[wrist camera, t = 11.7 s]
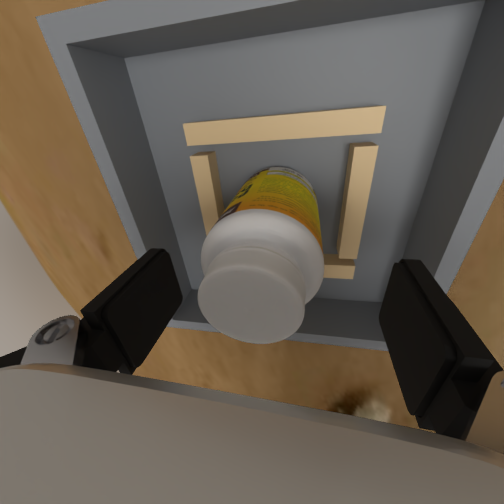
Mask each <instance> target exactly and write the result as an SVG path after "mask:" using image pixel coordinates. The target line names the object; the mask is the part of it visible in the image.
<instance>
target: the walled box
mask: <svg viewBox="0 0 504 504" xmlns="http://www.w3.org/2000/svg"><path fill="white" fill-rule="evenodd" d="M36 19H37V22H38V24H39V26H40V29H41V31H42V34H43V36H44V38H45V41H46V43H47V45H48V48H49V50H50V53H51V55H52V57H53V60H54V62H55V64H56V67H57V69H58V72H59V74H60V76H61V79H62V81H63V83H64V86H65V88H66V91H67V93H68V95H69V98H70V100H71V102H72V105H73V107H74V110H75V112H76V114H77V117H78V119H79V121H80V124H81V126H82V129H83V131H84V133H85V136H86V138H87V141H88V143H89V145H90V148H91V150H92V152H93V155H94V157H95V160H96V162H97V164H98V167H99V169H100V171H101V174H102V176H103V179H104V181H105V183H106V186H107V188H108V190H109V193H110V195H111V198H112V200H113V202H114V205H115V207H116V209H117V212H118V214H119V217H120V219H121V221H122V224H123V226H124V228H125V231H126V233H127V236H128V238H129V240H130V243H131V245H132V247H133V250H134V252H135V255H136V257H137V259H139V258H140V257H141V256H143V255H144V254H145V253H146V252H147V251H148V250H149V249H151V248H162V249H165V250H166V251H167V252H168V253H169V254H170V257H171V260H172V263H173V266H174V270H175V273H176V276H177V279H178V283H179V286H180V289H181V292H182V295H183V300H182V303H181V305H180V306H179V308H178V309H177V311H176V313H175V314H174V316H173V317H172V319H171V320H170V322H169V323H168V325H167V326H166V327H174V328H183V329H192V330H201V331H210V332H219V333H221V332H220V331H218V330H217V329H216V328H214V327H213V326H212V325H211V324H210V323H209V322H208V321H207V319H206V318H205V317H204V316H203V314H202V312H201V310H200V308H199V305H198V290H199V286H200V284H201V282H202V280H203V278H204V274H203V270H202V266H201V251H202V246H203V243H204V241H205V239H206V237H207V235H208V233H209V232H210V230H211V229H212V227H213V226H214V225H215V223H216V222H217V221H218V219H219V218H220V216H221V215H222V214H223V212H224V211H225V210H226V208H227V207H228V205H229V204H230V203H231V201H232V200H233V199H234V197H235V196H236V194H237V193H238V192H239V190H240V189H241V188H242V186H243V185H244V184H245V182H246V181H247V180H248V179H249V178H250V177H251V176H252V175H254V174H255V173H257V172H259V171H261V170H263V169H266V168H270V167H285V168H289V169H292V170H294V171H296V172H298V173H300V174H301V175H303V176H304V177H305V178H306V179H307V180H308V181H309V182H310V184H311V185H312V187H313V189H314V191H315V193H316V197H317V203H318V213H319V221H320V230H321V238H322V248H323V256H324V276H323V281H322V283H321V286H320V288H319V290H318V292H317V293H316V295H315V296H314V297H313V298H312V299H311V300H310V301H309V302H308V303H306V304H305V312H304V318H303V321H302V324H301V325H300V327H299V328H298V330H297V331H296V332H295V333H294V334H292V335H291V336H289V337H288V338H286V339H284V340H292V341H301V342H310V343H319V344H328V345H337V346H346V347H355V348H364V349H373V350H382V351H388V348H387V345H386V342H385V339H384V336H383V333H382V329H381V326H380V323H379V313H380V309H381V306H382V302H383V299H384V295H385V292H386V288H387V285H388V282H389V278H390V275H391V271H392V268H393V265H394V263H396V262H398V263H399V261H400V260H401V259H418V260H421V261H422V262H423V264H424V265H425V266H426V268H427V269H428V270H429V272H430V273H431V275H432V276H433V277H434V279H435V280H436V281H437V283H438V284H439V285H440V287H441V288H442V289H443V291H444V292H445V294H447V292H448V290H449V288H450V286H451V284H452V282H453V280H454V278H455V276H456V274H457V272H458V270H459V268H460V266H461V264H462V262H463V260H464V258H465V256H466V254H467V252H468V250H469V248H470V246H471V244H472V242H473V240H474V238H475V236H476V234H477V232H478V230H479V228H480V226H481V224H482V222H483V220H484V218H485V216H486V214H487V211H488V209H489V207H490V205H491V203H492V201H493V199H494V197H495V195H496V193H497V191H498V189H499V187H500V185H501V183H502V181H503V179H504V0H108V1H104V2H99V3H95V4H90V5H86V6H82V7H77V8H73V9H68V10H64V11H59V12H55V13H50V14H46V15H41V16H37V17H36Z"/></svg>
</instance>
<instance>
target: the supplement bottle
mask: <svg viewBox="0 0 504 504" xmlns="http://www.w3.org/2000/svg"><path fill="white" fill-rule="evenodd" d="M201 266H202V270H203V274H204V278H203V280H202V282H201V284H200V286H199V290H198V305H199V308H200V310H201V312H202V314H203V316H204V317H205V318H206V319H207V321H208V322H209V323H210V324H211V325H212V326H213V327H214V328H216V329H217V330H218V331H220V332H221V333H223V334H225V335H227V336H229V337H231V338H233V339H236V340H240V341H243V342H248V343H254V344H268V343H274V342H278V341H281V340H284V339H286V338H288V337H289V336H291V335H292V334H294V333H295V332H296V331H297V330H298V328H299V327H300V325H301V324H302V321H303V318H304V312H305V304H306V303H308V302H309V301H310V300H311V299H312V298H313V297H314V296H315V295H316V293H317V292H318V290H319V288H320V286H321V283H322V281H323V276H324V256H323V248H322V238H321V230H320V221H319V213H318V203H317V197H316V193H315V191H314V189H313V187H312V185H311V184H310V182H309V181H308V180H307V179H306V178H305V177H304V176H303V175H301V174H300V173H298V172H296V171H294V170H292V169H289V168H285V167H270V168H266V169H263V170H261V171H259V172H257V173H255V174H254V175H252V176H251V177H250V178H249V179H248V180H247V181H246V182H245V184H244V185H243V186H242V188H241V189H240V190H239V192H238V193H237V194H236V196H235V197H234V199H233V200H232V201H231V203H230V204H229V205H228V207H227V208H226V210H225V211H224V212H223V214H222V215H221V216H220V218H219V219H218V221H217V222H216V223H215V225H214V226H213V227H212V229H211V230H210V232H209V233H208V235H207V237H206V239H205V241H204V243H203V246H202V251H201Z"/></svg>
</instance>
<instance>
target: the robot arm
mask: <svg viewBox="0 0 504 504" xmlns="http://www.w3.org/2000/svg"><path fill="white" fill-rule="evenodd" d="M182 300H183V295H182V292H181V289H180V286H179V283H178V279H177V276H176V273H175V270H174V266H173V263H172V260H171V257H170V254H169V253H168V252H167V251H166V250H165V249H162V248H151V249H149V250H148V251H147V252H146V253H145V254H144V255H143V256H141V257H140V258H139V259H138V260H137V261H136V262H135V263H134V264H132V265H131V266H130V267H129V268H128V269H127V270H126V271H124V272H123V273H122V274H121V275H120V276H119V277H118V278H117V279H115V280H114V281H113V282H112V283H111V284H110V285H109V286H107V287H106V288H105V289H104V290H103V291H102V292H101V293H100V294H98V295H97V296H96V297H95V298H94V299H93V300H92V301H90V302H89V303H88V304H87V305H86V306H85V307H84V308H83V309H81V310H80V311H81V313H82V314H83V316H84V318H83V319H81V320H80V319H79V318H78V317H77V316H74V315H68V316H63V317H59V318H57V319H55V320H52V321H50V322H48V323H47V324H45V325H43V326H42V327H41V328H39V329H38V330H37V331H36V332H35V333H34V334H33V335H32V337H31V339H30V341H29V343H28V346H27V347H24V348H22V349H19V350H17V351H15V352H12V353H10V354H7V355H5V356H2V357H0V504H504V370H503V369H502V367H501V366H500V365H499V363H498V362H497V361H496V359H495V358H494V357H493V355H492V354H491V353H490V351H489V350H488V349H487V347H486V346H485V345H484V343H483V342H482V341H481V339H480V338H479V336H478V335H477V334H476V332H475V331H474V330H473V328H472V327H471V326H470V324H469V323H468V322H467V320H466V319H465V318H464V316H463V315H462V314H461V312H460V311H459V310H458V308H457V307H456V305H455V304H454V303H453V302H452V301H451V300H450V299H449V298H448V296H447V295H446V294H445V292H444V291H443V289H442V288H441V287H440V285H439V284H438V283H437V281H436V280H435V279H434V277H433V276H432V275H431V273H430V272H429V270H428V269H427V268H426V266H425V265H424V264H423V262H422V261H421V260H418V259H401V260H400V261H399V263H398V262H396V263H394V265H393V268H392V271H391V275H390V278H389V282H388V285H387V288H386V292H385V295H384V299H383V302H382V306H381V309H380V313H379V323H380V326H381V329H382V333H383V336H384V339H385V342H386V345H387V348H388V351H389V354H390V357H391V360H392V363H393V366H394V369H395V372H396V375H397V378H398V382H399V385H400V388H401V391H402V394H403V397H404V400H405V403H406V406H407V409H408V411H409V413H410V414H411V415H415V417H416V420H417V423H418V426H419V428H423V429H428V430H433V431H435V432H436V433H432V432H428V431H424V430H420V429H415V428H410V427H405V426H400V425H395V424H390V423H386V422H381V421H376V420H371V419H366V418H361V417H356V416H351V415H346V414H341V413H335V412H330V411H325V410H319V409H314V408H309V407H304V406H298V405H293V404H288V403H282V402H277V401H272V400H267V399H261V398H256V397H250V396H245V395H239V394H234V393H229V392H223V391H218V390H212V389H207V388H201V387H196V386H190V385H185V384H179V383H174V382H168V381H163V380H157V379H151V378H146V377H140V376H134V375H132V374H133V372H134V371H135V369H136V368H137V367H139V366H140V365H141V364H142V363H143V361H144V360H145V358H146V357H147V355H148V354H149V352H150V351H151V349H152V348H153V346H154V345H155V343H156V342H157V340H158V339H159V337H160V335H161V334H162V332H163V331H164V329H165V328H166V326H167V325H168V323H169V322H170V320H171V319H172V317H173V316H174V314H175V313H176V311H177V309H178V308H179V306H180V305H181V303H182ZM117 370H119V372H120V373H117Z"/></svg>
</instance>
